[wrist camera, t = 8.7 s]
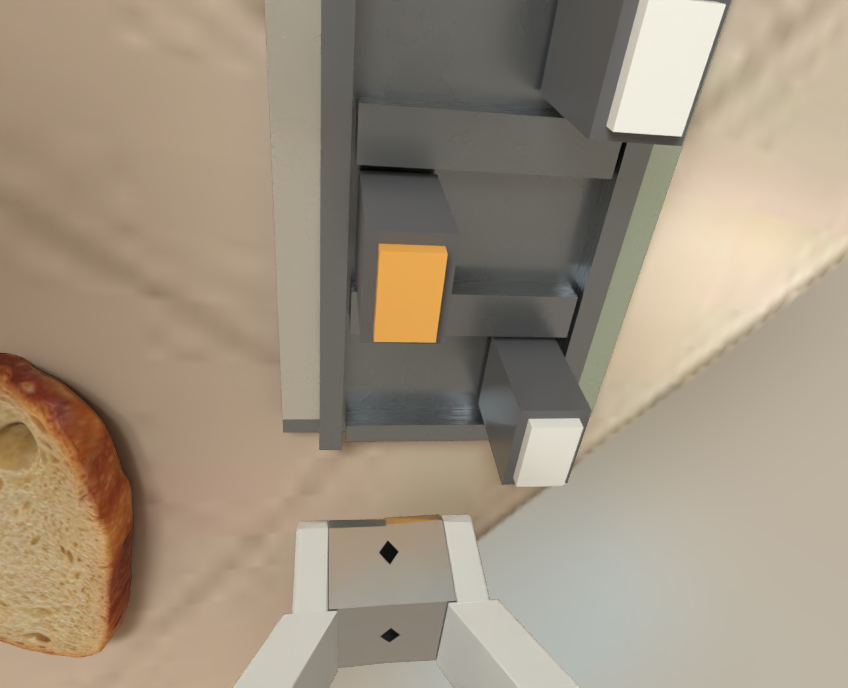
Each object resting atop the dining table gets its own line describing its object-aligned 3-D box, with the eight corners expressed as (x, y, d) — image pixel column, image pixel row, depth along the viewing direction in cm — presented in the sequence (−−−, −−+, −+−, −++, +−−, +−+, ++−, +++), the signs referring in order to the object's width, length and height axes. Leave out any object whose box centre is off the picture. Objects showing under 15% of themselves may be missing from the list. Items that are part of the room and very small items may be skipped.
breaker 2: (566, -43, 19) (639, -26, 14) (652, -33, 19) (747, -13, 15) (539, 94, 21) (595, 145, 17) (616, 100, 22) (689, 152, 17)
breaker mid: (359, 170, 22) (366, 237, 17) (437, 174, 22) (462, 241, 18) (355, 269, 24) (360, 351, 20) (425, 271, 25) (446, 352, 20)
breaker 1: (492, 334, 27) (523, 420, 22) (553, 335, 27) (596, 419, 23) (478, 403, 29) (504, 493, 25) (535, 403, 30) (570, 492, 25)
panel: (261, -165, 17) (253, -173, 16) (741, -99, 20) (785, -99, 18) (284, 415, 30) (281, 450, 28) (576, 413, 32) (591, 445, 30)
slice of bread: (84, 643, 40) (63, 704, 37) (-240, 514, 30) (-303, 582, 27) (289, 514, 35) (285, 572, 32) (-19, 312, 25) (-66, 368, 22)
